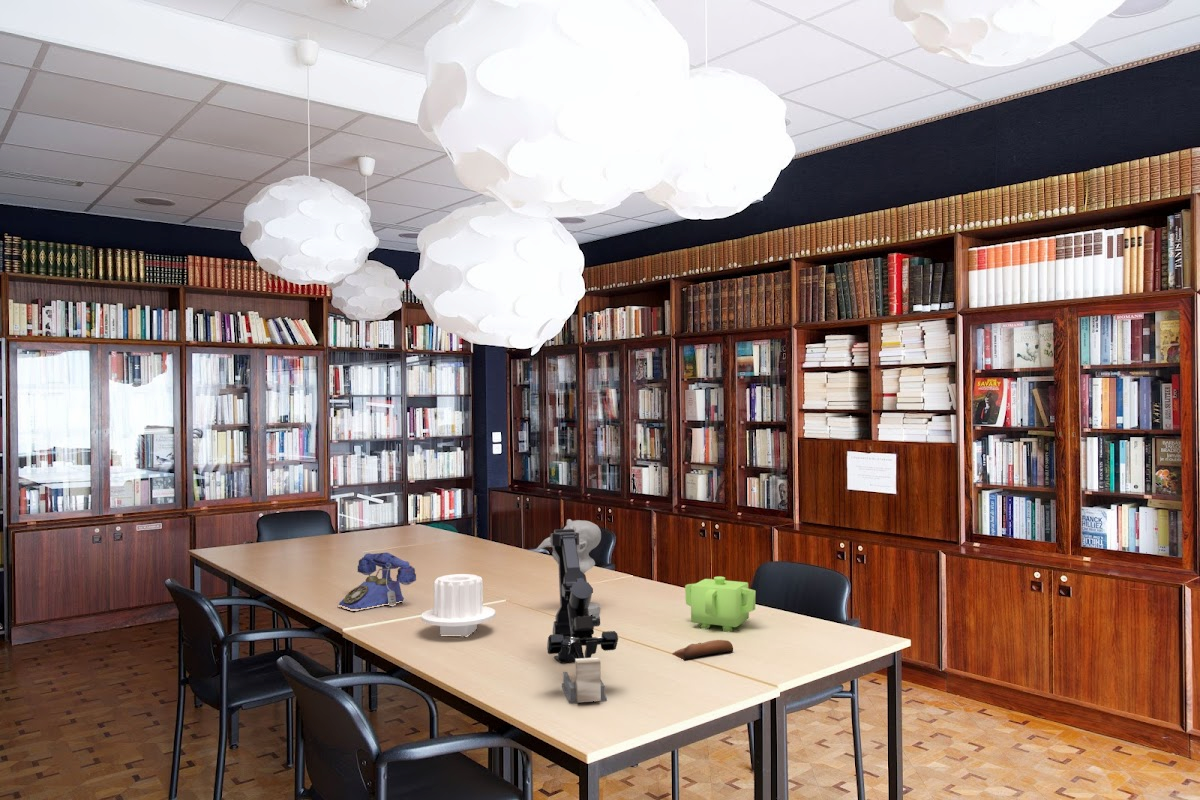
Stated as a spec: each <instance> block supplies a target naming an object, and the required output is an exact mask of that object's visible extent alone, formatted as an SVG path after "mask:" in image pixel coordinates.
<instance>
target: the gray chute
mask: <svg viewBox="0 0 1200 800" xmlns="http://www.w3.org/2000/svg"><path fill="white" fill-rule="evenodd" d="M562 676H563V681H562V683H561V687H562V690H563V694H564V695H565V697H567V698H566V699H567V702H568V704H577V703H580V704H581V702H577V699H576V695H575V681H572V680H571V677H570V676H569V673H568V671H563V674H562ZM607 699H608V697H607V695H606V687H605V684H604V682H603V680H602V679H601V701H600V702H605V701H607ZM591 702H592V703H593V701H590V702H589V703H591Z"/></svg>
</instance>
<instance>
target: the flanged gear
mask: <svg viewBox="0 0 1200 800" xmlns="http://www.w3.org/2000/svg"><path fill="white" fill-rule="evenodd" d="M483 581H484V580H483V578H482V577H481V576H479V575H476V574H469V573H468V574H467V573H459V574H458V573H457V574H456V573H454V574H447V575H445V574H444V575H442V576H439V577H436V579H435V580H434V581H433V608H430V609H427V610H425V611H423V612H422V613H421V618H420V619H421V621H422V622H423V623H425V624H426V625H432V626H437V627H439V635H440V634H441V635H461V636H467V635H469V634H471V633H472V632H473V631H475V630H476V629H477V630H478V625H480V624H484V623H485V622H486V623H487V622H490V621H491V620H493V619H495V618H496V610H495V609H494V608H492V607H489V606H486V605H483V604H484V603H483V602H484V601H483V596H484V594H483V592H484V591H483V590H484V589H483ZM475 632H476V631H475ZM471 635H472V634H471Z"/></svg>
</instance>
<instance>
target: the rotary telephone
mask: <svg viewBox="0 0 1200 800" xmlns="http://www.w3.org/2000/svg"><path fill="white" fill-rule="evenodd" d="M377 567H378V568H379V569H378V570H377ZM394 569H397V575H396V580H394V579H393V578H392V577H391V570H394ZM380 571H381V578H379V577H378V574H379V572H380ZM356 572H357V573H360V574H362V575H364V576H367V577H366V579H365V581H362V582H361V584H360V585H358V586H356V587H354V588H353V589H351V590H350V591H349V592H347V594H346V595H345V596H344V597H343V599H341V600H340V601H339V604H338V605H342V606H345V607H348V608H350V609H361V608H367V607H372V606H377V605H382V604H388V603H389V605H394V604H396V602H399V601H403V602H404V599H405V598H404V596H403V594H402V588H401V585H400V584H402V585H403V586H410V585H412V584H413V583H414V582H416V581H417V573H416V569H415V567H413V566H412V565H411V564H410V561H406V560H403V559H401V558H399V557H397V556H395V555H393V554H391V553H389V552H379V553H377V552H376V553H369V552H368V553H366V554H364V555H363V556H362V558H360V559H359V560H358V565H357V571H356ZM375 572H376V575H372V574H373V573H375Z"/></svg>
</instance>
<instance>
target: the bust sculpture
mask: <svg viewBox="0 0 1200 800" xmlns="http://www.w3.org/2000/svg"><path fill="white" fill-rule="evenodd" d="M563 529H574V532H576V533H579V545H577V553H578V559H579V566H580V570H581V571H582V572H583V573H584V574H585V573H587V571H589V570H592V568H593V567H595V566H596V562H595V559H594V558H592V557H591V556H590V555H589V554H590V553H591V551H592V550H594V549H595V548H597V546H599V544H600V543H601V539H602V532H601V528H600V527H599V526H598V525H597V524H595V523H594V522H591V521H589V520H580V519H576V520H572V519H570V518H569V519H566V525H565V526H564V527H563ZM545 548H553V546H552V545H551V541H550V536H549V537H547V538H545V539H544V540H542V542H541V543H540V544H539V545H538V547H536V551H540V550H542V549H545ZM551 555H552V558H553V560H554V561H555V562H556V563H557V564H558V558H557V556H556V554H555V553H554V551H553V550H552V552H551ZM588 610H589V616H591V615H592V614H597V613H599V614H600V613H601V605H600V603H598V602H594V601H590V605H589V607H588Z"/></svg>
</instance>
